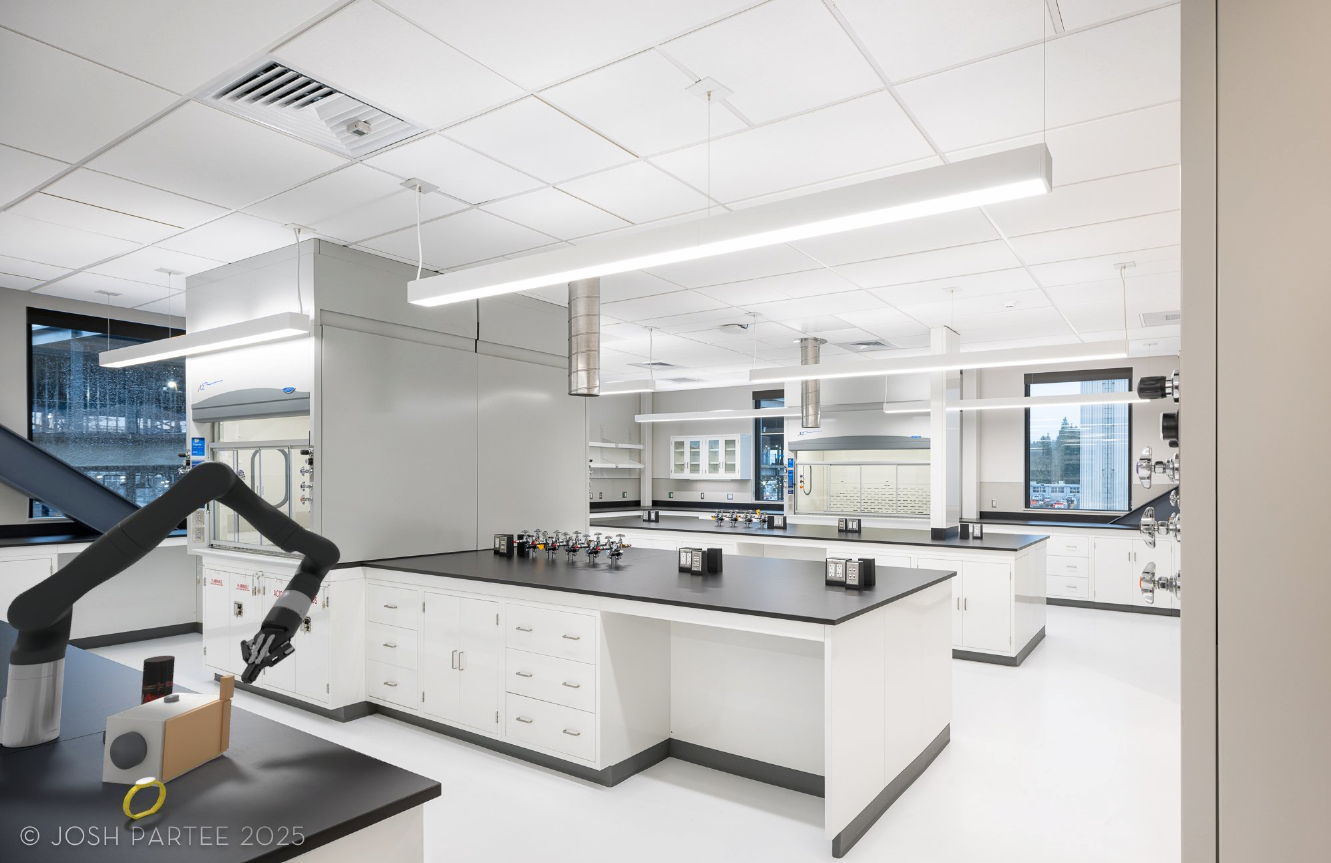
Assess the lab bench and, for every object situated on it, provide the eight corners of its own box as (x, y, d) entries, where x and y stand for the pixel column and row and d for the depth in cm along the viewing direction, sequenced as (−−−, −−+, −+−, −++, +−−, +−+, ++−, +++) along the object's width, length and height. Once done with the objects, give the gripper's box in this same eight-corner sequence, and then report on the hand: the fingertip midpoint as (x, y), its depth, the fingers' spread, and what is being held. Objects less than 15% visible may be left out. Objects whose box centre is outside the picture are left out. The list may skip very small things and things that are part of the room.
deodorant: (133, 725, 163) (137, 660, 164) (160, 718, 168) (164, 654, 169) (149, 729, 161) (154, 663, 162) (176, 721, 166) (180, 657, 167)
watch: (129, 825, 118) (128, 790, 118) (120, 821, 119) (120, 786, 119) (168, 808, 123) (167, 774, 123) (160, 805, 124) (159, 771, 124)
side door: (162, 780, 132) (167, 696, 133) (223, 750, 147) (227, 674, 148) (169, 780, 132) (175, 696, 133) (230, 750, 147) (234, 675, 148)
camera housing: (94, 785, 132) (99, 715, 133) (172, 749, 149) (176, 688, 150) (150, 790, 130) (155, 719, 131) (223, 754, 147) (227, 691, 148)
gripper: (254, 603, 164) (209, 671, 151) (306, 606, 162) (265, 674, 149) (269, 622, 169) (227, 689, 156) (319, 624, 167) (281, 692, 154)
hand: (246, 681), depth 152 cm, fingers closed
